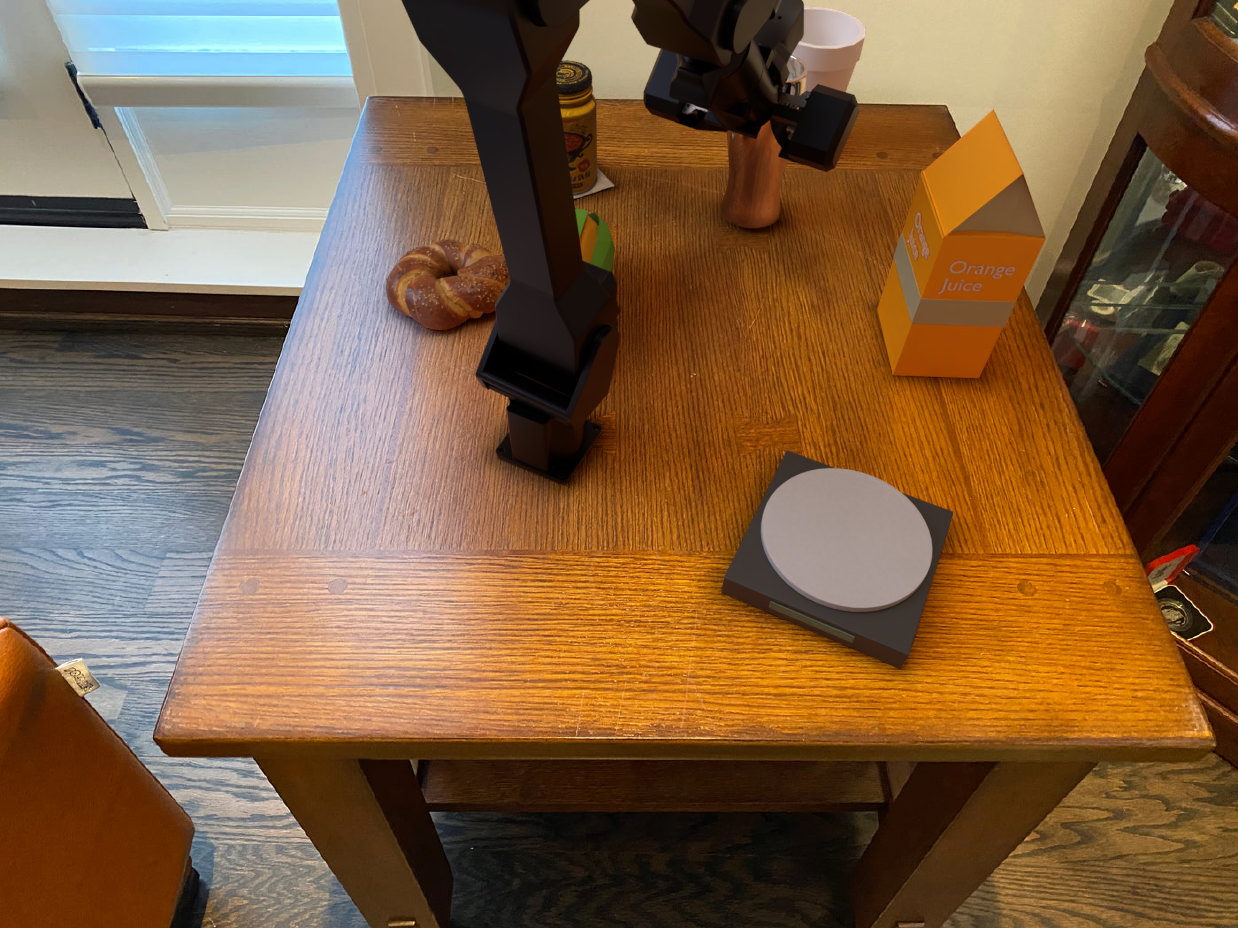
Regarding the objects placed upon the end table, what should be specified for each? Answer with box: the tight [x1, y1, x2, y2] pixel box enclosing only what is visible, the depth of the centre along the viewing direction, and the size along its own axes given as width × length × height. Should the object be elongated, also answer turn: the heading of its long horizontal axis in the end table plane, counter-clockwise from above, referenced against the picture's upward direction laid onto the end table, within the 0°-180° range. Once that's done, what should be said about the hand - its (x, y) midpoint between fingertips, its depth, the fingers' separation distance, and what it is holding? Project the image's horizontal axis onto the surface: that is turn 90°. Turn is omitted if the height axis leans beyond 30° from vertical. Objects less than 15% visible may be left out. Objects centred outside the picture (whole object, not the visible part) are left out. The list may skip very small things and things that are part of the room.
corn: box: [575, 207, 616, 272], centre depth 77 cm, size 7×8×20 cm
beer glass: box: [720, 55, 808, 229], centre depth 84 cm, size 7×7×15 cm
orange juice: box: [876, 108, 1047, 379], centre depth 70 cm, size 8×9×20 cm
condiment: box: [556, 59, 615, 200], centre depth 89 cm, size 7×8×12 cm
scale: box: [720, 450, 954, 669], centre depth 62 cm, size 13×13×3 cm
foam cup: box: [792, 6, 867, 92], centre depth 94 cm, size 10×9×13 cm
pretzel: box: [385, 238, 509, 331], centre depth 80 cm, size 12×11×4 cm
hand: (765, 137), depth 85 cm, fingers closed on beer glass, 7 cm apart
